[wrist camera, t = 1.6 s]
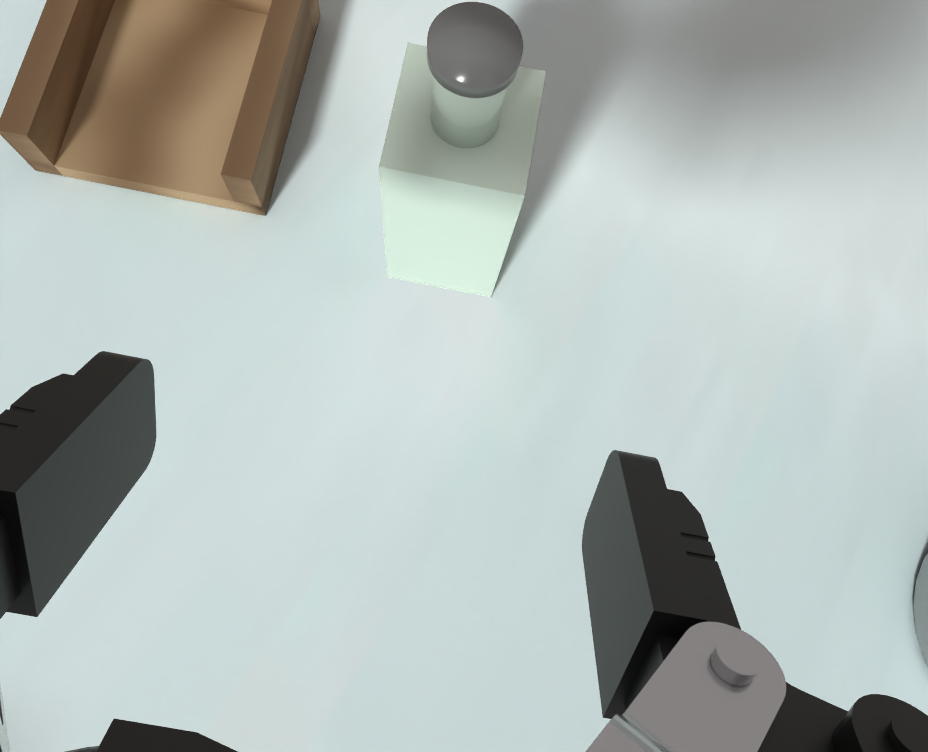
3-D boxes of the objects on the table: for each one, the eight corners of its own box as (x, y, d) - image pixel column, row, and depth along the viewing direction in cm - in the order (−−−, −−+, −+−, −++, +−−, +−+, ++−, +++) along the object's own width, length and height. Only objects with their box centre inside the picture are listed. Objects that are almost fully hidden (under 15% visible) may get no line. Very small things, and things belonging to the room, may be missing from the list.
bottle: (507, 203, 32) (569, -9, 20) (491, 297, 30) (546, 132, 18) (407, 183, 31) (408, -44, 19) (386, 276, 30) (374, 97, 18)
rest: (320, 15, 33) (312, -36, 30) (265, 215, 30) (250, 180, 28) (109, -29, 33) (80, -85, 30) (35, 170, 30) (-5, 129, 27)
